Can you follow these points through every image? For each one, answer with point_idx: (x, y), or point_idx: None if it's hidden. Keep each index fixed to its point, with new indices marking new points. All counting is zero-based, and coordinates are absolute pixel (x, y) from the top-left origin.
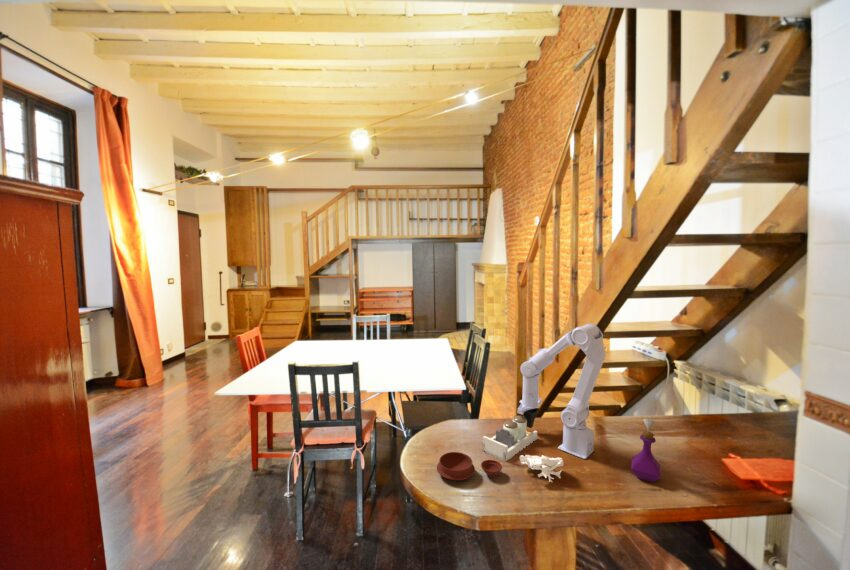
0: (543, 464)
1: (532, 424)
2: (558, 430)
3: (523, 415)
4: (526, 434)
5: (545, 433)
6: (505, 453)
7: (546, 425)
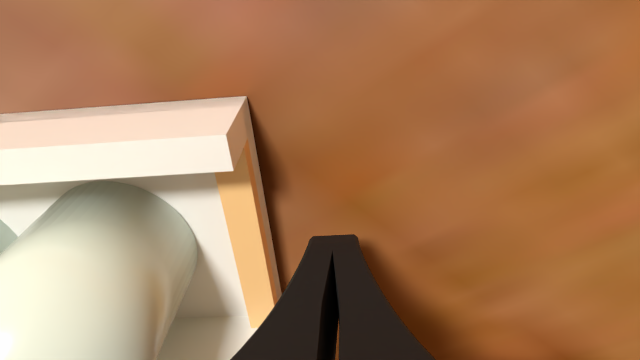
0: None
1: (335, 329)
2: (577, 350)
3: (245, 349)
4: (232, 260)
5: (436, 314)
6: None
7: (623, 251)
